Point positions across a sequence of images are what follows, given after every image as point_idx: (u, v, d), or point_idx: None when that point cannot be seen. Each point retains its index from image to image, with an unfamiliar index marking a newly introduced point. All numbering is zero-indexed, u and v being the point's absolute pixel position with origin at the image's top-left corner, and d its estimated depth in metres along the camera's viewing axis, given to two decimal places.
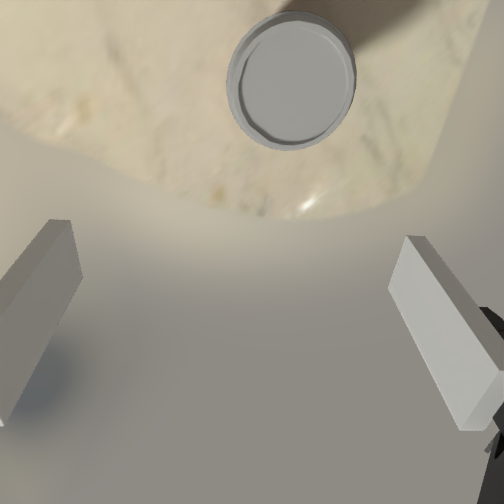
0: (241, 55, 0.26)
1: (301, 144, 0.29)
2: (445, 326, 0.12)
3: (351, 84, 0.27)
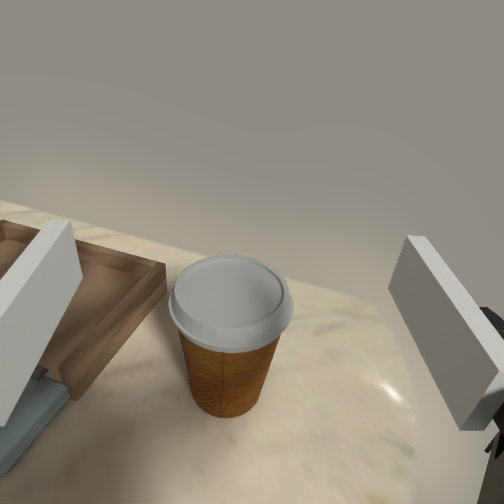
0: (185, 313, 0.26)
1: (284, 291, 0.29)
2: (445, 326, 0.12)
3: (241, 257, 0.32)
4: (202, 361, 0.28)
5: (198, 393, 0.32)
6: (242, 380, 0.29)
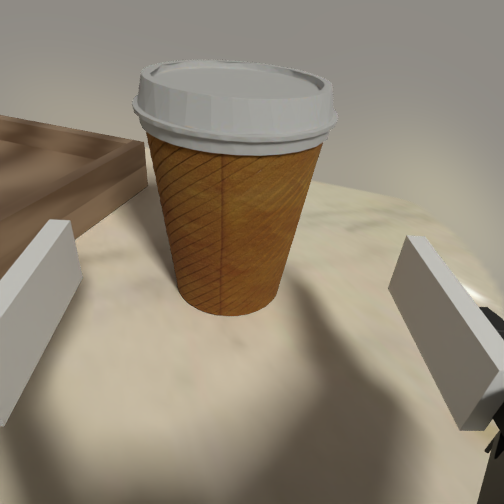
0: (157, 85, 0.15)
1: (324, 83, 0.18)
2: (445, 326, 0.12)
3: (250, 62, 0.21)
4: (189, 189, 0.17)
5: (185, 273, 0.21)
6: (255, 233, 0.18)
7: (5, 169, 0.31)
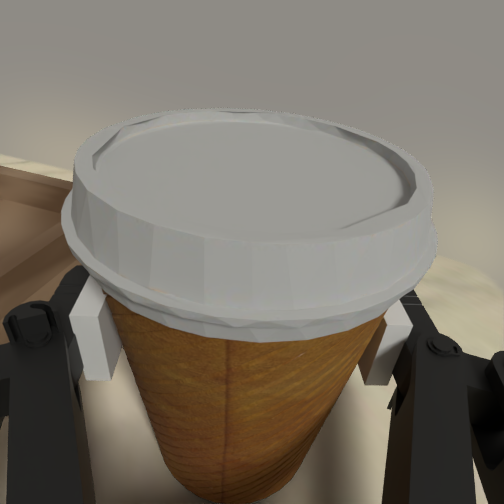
0: (95, 199, 0.07)
1: (409, 165, 0.10)
2: None
3: (272, 112, 0.13)
4: (166, 370, 0.09)
5: (167, 449, 0.13)
6: (285, 425, 0.10)
7: None
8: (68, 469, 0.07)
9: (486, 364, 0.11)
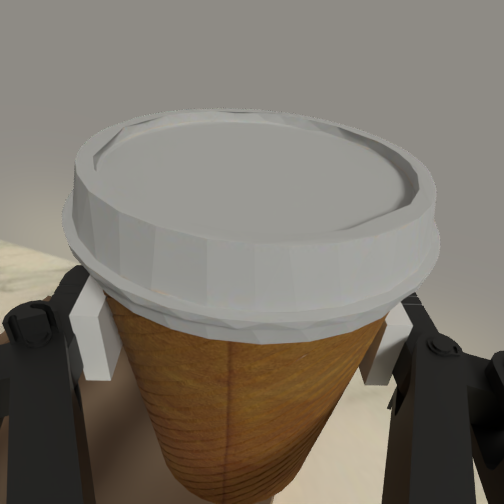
0: (97, 199, 0.07)
1: (411, 165, 0.10)
2: None
3: (273, 112, 0.13)
4: (167, 372, 0.09)
5: (168, 450, 0.13)
6: (287, 426, 0.10)
7: None
8: (68, 469, 0.07)
9: (486, 364, 0.11)
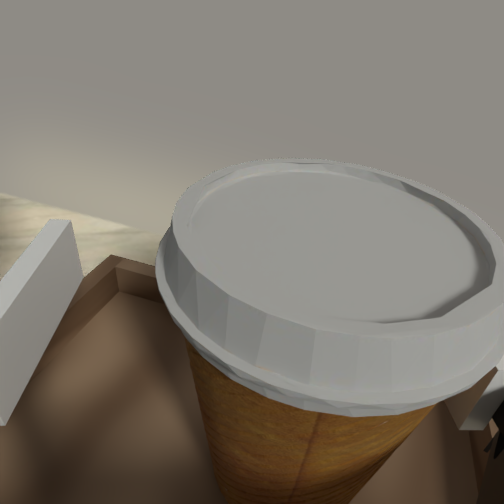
0: (205, 279, 0.08)
1: (482, 232, 0.10)
2: None
3: (336, 162, 0.14)
4: (250, 425, 0.10)
5: (228, 482, 0.14)
6: (353, 474, 0.11)
7: None
8: None
9: None
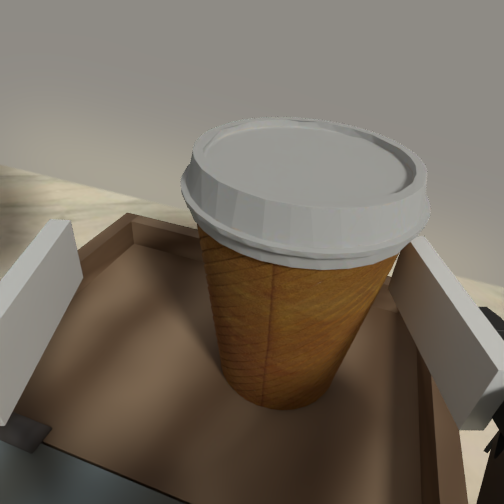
0: (206, 174, 0.12)
1: (416, 167, 0.14)
2: (445, 326, 0.12)
3: (327, 121, 0.18)
4: (234, 287, 0.14)
5: (227, 358, 0.18)
6: (309, 340, 0.15)
7: None
8: None
9: None
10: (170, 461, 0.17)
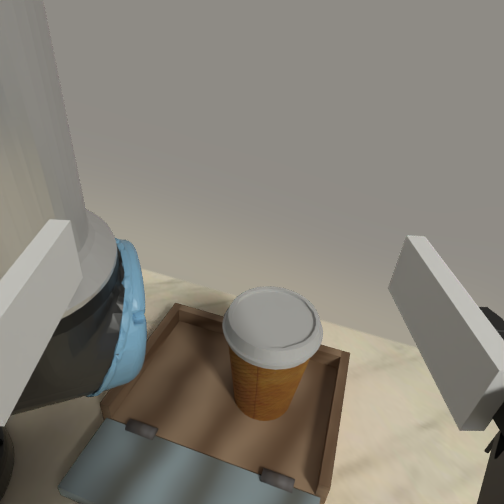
0: (233, 331, 0.34)
1: (316, 325, 0.35)
2: (445, 326, 0.12)
3: (286, 290, 0.39)
4: (242, 370, 0.35)
5: (238, 395, 0.40)
6: (273, 391, 0.36)
7: None
8: None
9: None
10: (212, 443, 0.38)
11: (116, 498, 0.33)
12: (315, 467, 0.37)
